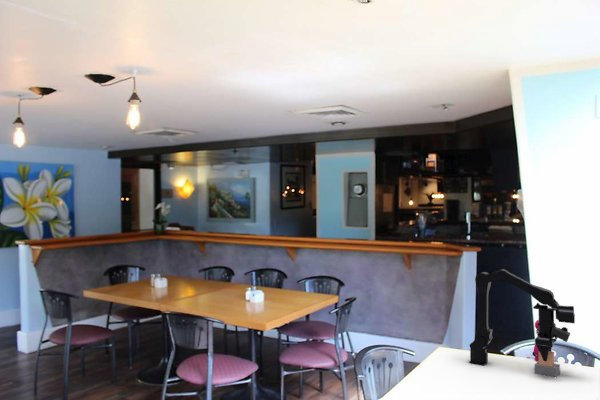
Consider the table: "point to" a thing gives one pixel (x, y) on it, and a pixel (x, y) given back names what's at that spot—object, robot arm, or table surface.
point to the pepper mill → (535, 344)
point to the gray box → (547, 370)
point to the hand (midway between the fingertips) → (546, 358)
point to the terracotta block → (549, 360)
